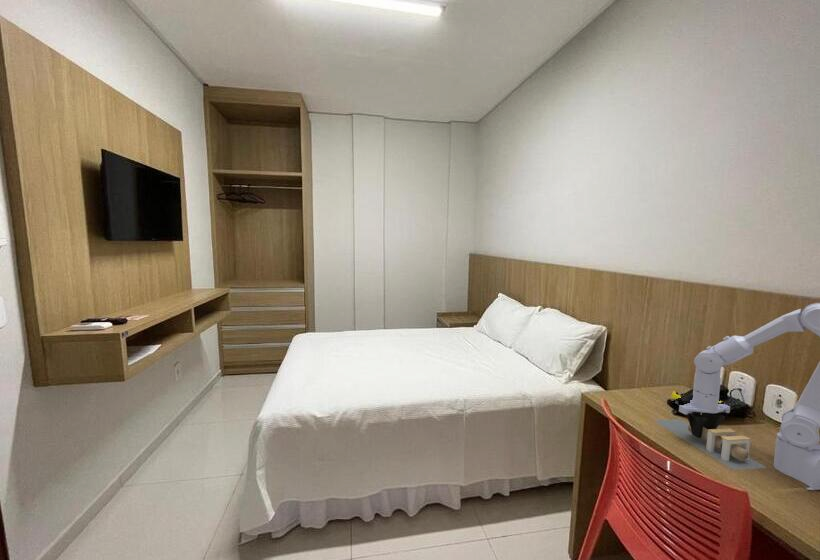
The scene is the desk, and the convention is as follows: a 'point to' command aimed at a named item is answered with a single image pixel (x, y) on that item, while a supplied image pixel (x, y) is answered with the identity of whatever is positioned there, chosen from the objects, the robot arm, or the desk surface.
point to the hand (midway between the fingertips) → (701, 435)
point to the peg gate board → (708, 446)
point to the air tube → (734, 449)
